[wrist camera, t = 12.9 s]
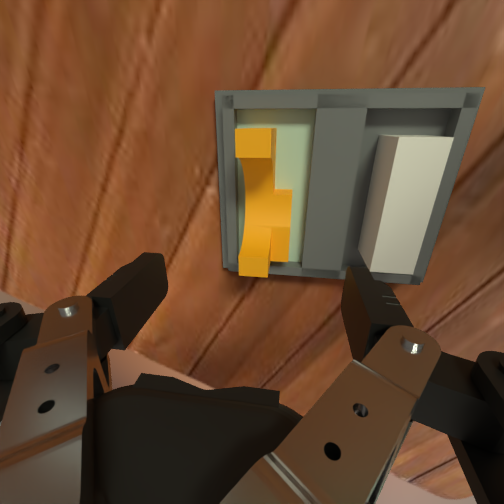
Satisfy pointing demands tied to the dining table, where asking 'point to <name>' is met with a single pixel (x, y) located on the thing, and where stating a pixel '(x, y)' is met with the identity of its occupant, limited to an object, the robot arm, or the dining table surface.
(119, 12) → the dining table surface
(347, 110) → the dock
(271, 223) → the orange stepped block
